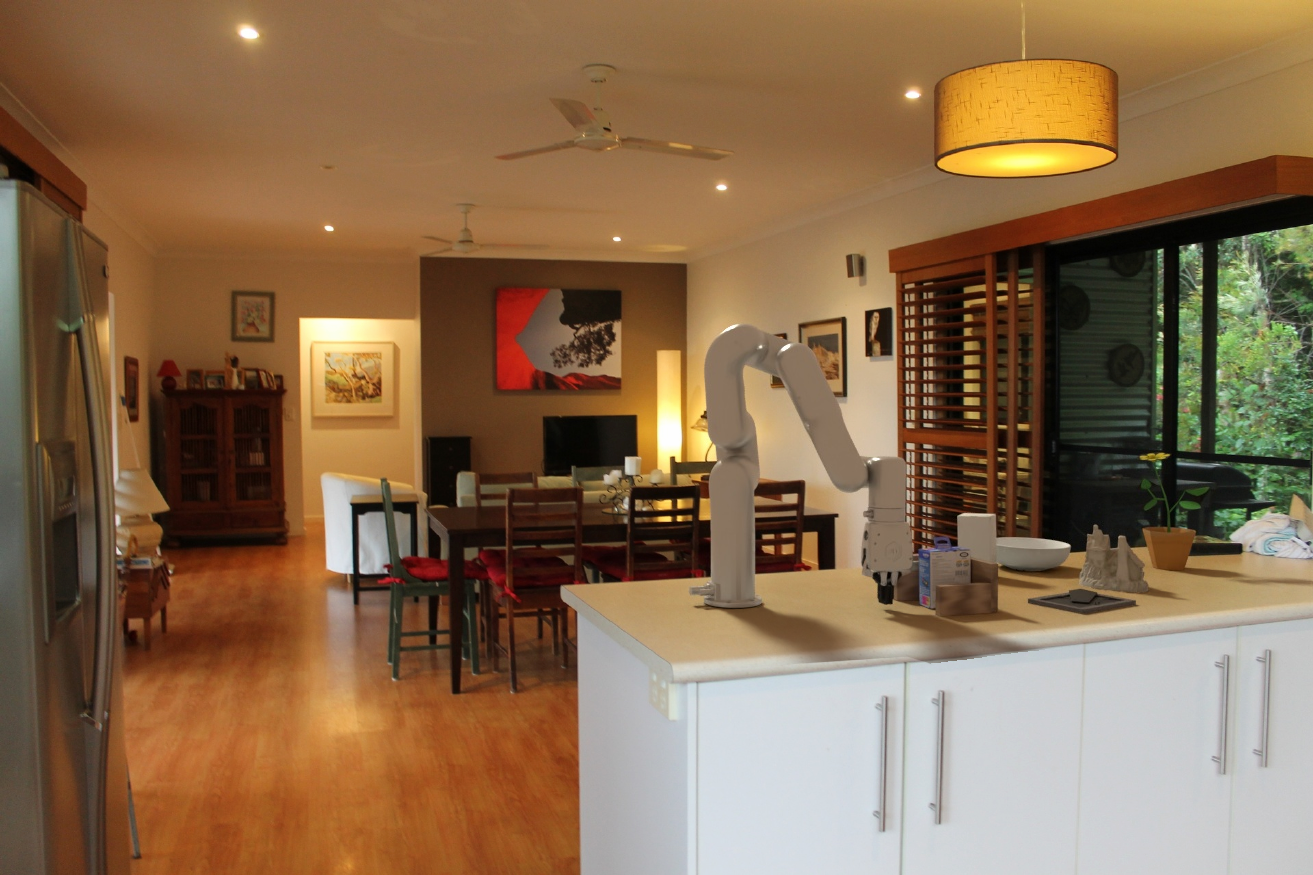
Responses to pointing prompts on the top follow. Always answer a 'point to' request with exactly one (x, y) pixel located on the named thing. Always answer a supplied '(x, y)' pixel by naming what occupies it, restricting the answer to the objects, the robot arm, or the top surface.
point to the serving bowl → (1031, 553)
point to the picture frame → (1081, 601)
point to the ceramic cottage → (1111, 565)
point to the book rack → (956, 590)
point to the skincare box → (978, 535)
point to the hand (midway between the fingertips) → (885, 603)
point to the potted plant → (1169, 542)
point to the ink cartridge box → (942, 569)
